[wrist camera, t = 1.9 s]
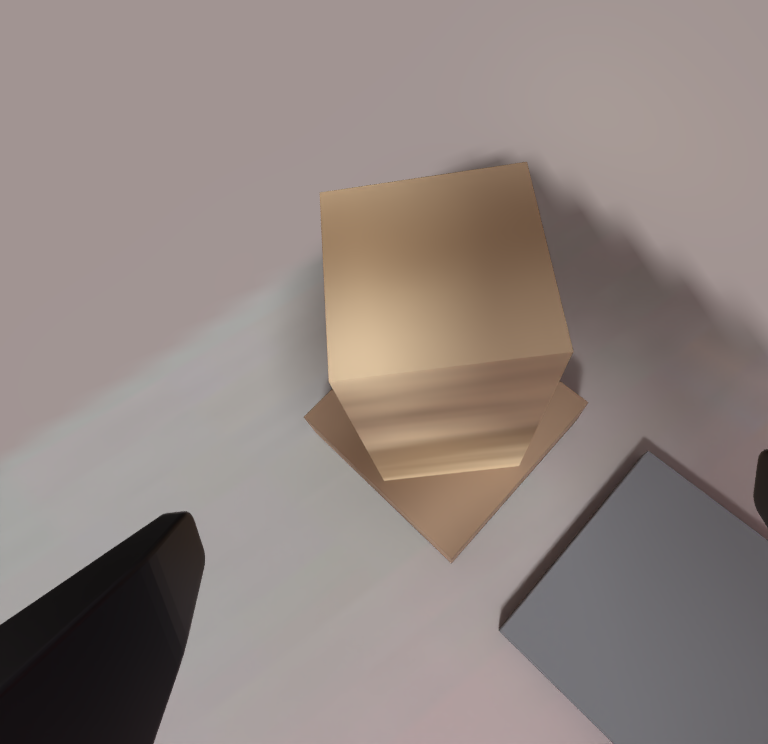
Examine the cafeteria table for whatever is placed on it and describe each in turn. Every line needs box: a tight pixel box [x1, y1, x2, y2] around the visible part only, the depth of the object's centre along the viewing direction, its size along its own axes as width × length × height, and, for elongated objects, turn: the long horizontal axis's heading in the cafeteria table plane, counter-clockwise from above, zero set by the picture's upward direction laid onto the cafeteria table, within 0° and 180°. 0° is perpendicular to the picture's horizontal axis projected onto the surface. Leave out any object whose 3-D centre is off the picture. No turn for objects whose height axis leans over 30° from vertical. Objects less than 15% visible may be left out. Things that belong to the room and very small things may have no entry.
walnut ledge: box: [304, 381, 588, 563], centre depth 20 cm, size 7×7×2 cm
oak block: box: [320, 162, 573, 481], centre depth 15 cm, size 4×4×9 cm
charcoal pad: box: [499, 451, 768, 744], centre depth 17 cm, size 8×8×1 cm
